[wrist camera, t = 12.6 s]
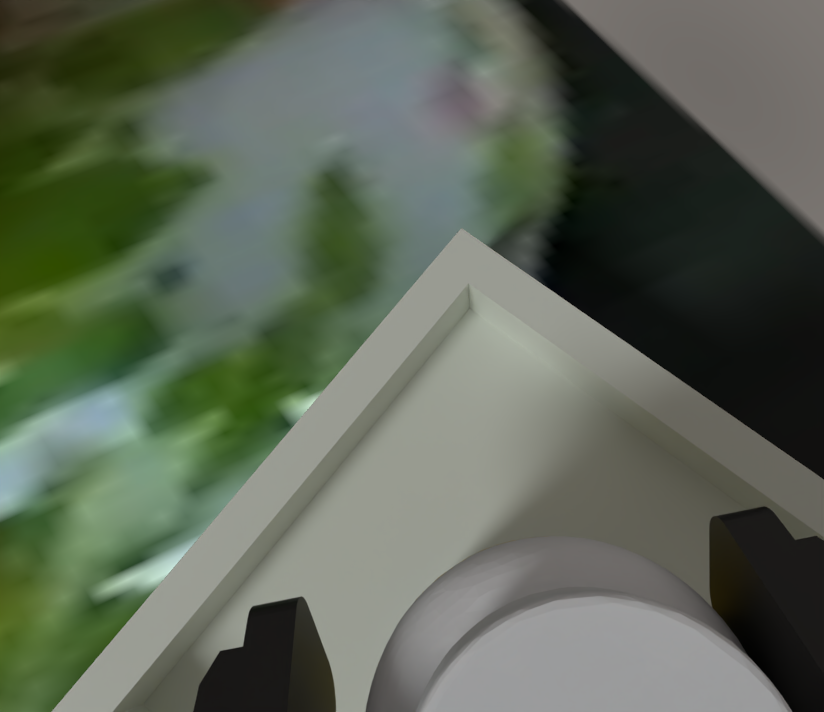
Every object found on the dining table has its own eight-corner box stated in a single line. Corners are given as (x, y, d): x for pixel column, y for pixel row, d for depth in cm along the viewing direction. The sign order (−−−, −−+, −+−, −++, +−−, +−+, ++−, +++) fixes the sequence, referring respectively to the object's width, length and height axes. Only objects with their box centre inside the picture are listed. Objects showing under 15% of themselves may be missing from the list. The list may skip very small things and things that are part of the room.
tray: (100, 703, 18) (40, 725, 15) (463, 269, 20) (461, 228, 17) (586, 1216, 14) (608, 1347, 12) (957, 620, 16) (1040, 629, 14)
